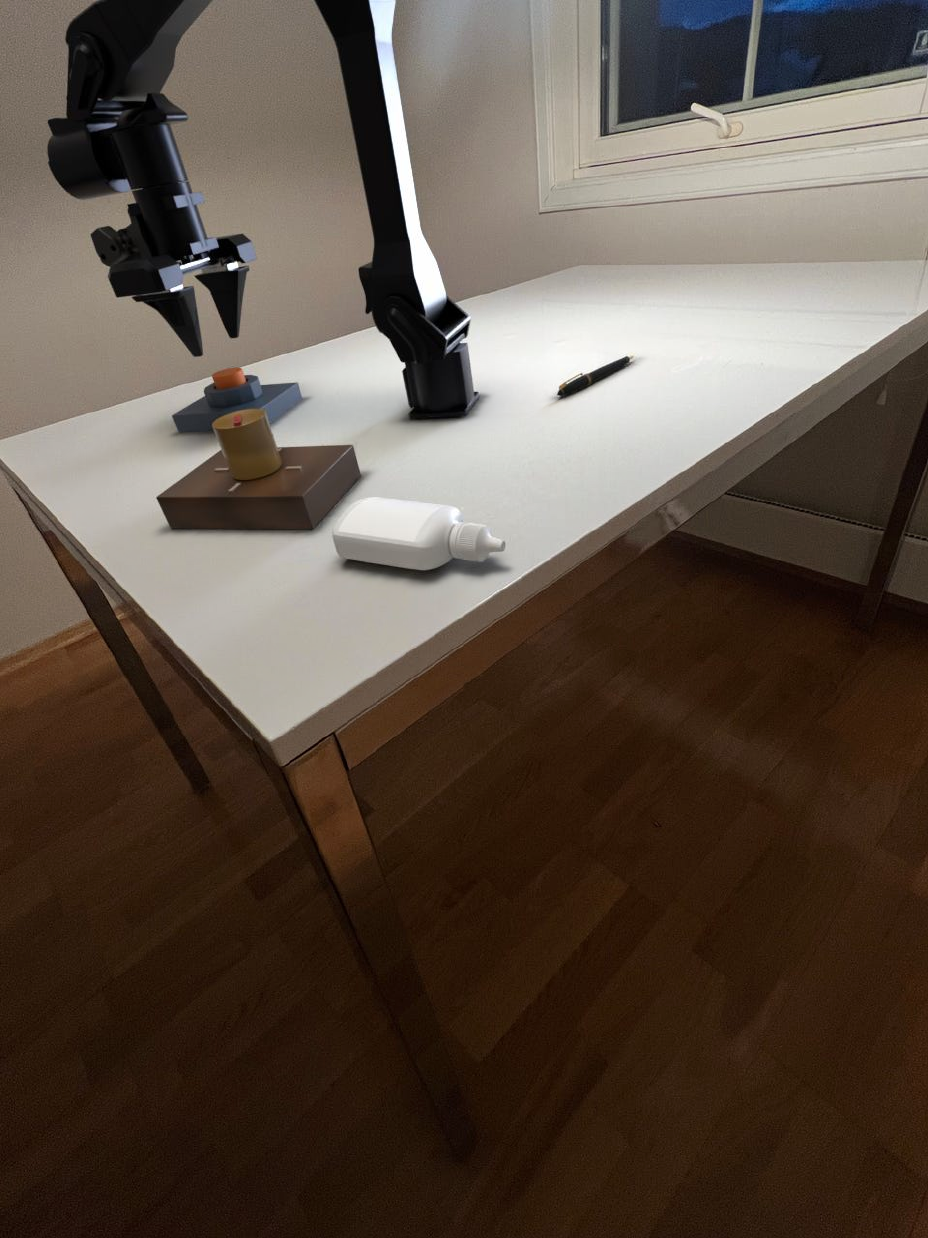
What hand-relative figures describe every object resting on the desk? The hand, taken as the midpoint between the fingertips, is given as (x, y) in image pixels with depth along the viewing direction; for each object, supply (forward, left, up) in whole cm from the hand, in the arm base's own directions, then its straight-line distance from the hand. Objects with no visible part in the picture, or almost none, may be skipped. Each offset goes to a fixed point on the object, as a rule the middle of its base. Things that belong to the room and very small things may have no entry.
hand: (217, 346), depth 74 cm
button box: (0, 0, -8) cm, 8 cm away
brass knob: (-17, +23, -5) cm, 29 cm away
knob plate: (-17, +23, -8) cm, 30 cm away
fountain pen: (-43, -6, -9) cm, 44 cm away
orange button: (0, 0, -5) cm, 5 cm away
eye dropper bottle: (-29, +30, -6) cm, 42 cm away
